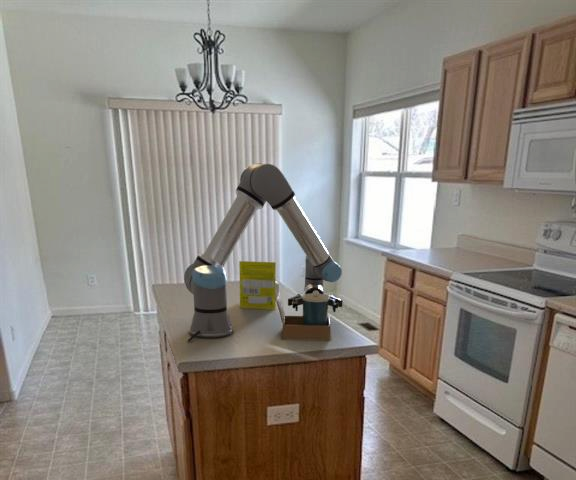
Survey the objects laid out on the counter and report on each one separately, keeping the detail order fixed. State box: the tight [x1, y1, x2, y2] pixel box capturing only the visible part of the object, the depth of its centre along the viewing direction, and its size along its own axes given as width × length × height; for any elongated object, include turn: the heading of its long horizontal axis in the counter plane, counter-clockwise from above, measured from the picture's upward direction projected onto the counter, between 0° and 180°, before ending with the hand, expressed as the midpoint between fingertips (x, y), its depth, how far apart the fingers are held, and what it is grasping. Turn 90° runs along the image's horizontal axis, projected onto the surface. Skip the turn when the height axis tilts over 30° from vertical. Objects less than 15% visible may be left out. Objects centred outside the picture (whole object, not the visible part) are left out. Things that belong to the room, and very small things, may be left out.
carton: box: [282, 315, 331, 341], centre depth 194 cm, size 17×13×5 cm
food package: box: [238, 260, 277, 310], centre depth 227 cm, size 15×1×20 cm, turn 84°
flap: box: [275, 292, 286, 324], centre depth 192 cm, size 8×13×1 cm
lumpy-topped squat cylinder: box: [275, 280, 280, 301], centre depth 248 cm, size 10×13×9 cm
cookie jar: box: [301, 290, 329, 326], centre depth 192 cm, size 10×10×16 cm
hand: (315, 307), depth 190 cm, fingers open, 13 cm apart
